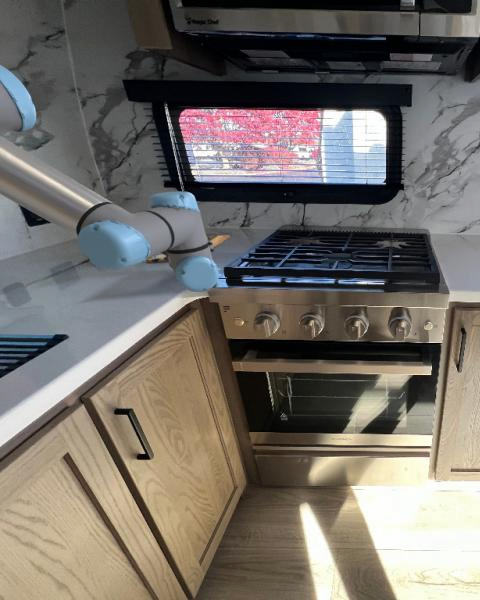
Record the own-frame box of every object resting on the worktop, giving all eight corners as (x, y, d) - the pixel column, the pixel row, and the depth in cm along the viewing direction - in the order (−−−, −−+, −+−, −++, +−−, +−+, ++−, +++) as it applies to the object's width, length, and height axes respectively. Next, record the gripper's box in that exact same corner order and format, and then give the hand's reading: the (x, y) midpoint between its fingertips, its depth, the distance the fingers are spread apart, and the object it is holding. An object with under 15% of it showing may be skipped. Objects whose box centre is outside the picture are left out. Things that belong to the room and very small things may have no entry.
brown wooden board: (147, 262, 102) (145, 256, 101) (193, 238, 127) (191, 233, 126) (193, 261, 103) (191, 254, 102) (230, 237, 128) (228, 232, 127)
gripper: (141, 283, 73) (136, 258, 90) (235, 264, 84) (215, 244, 101) (129, 251, 70) (126, 230, 86) (228, 235, 81) (209, 219, 97)
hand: (174, 238), depth 93 cm, fingers closed on soda can, 7 cm apart
